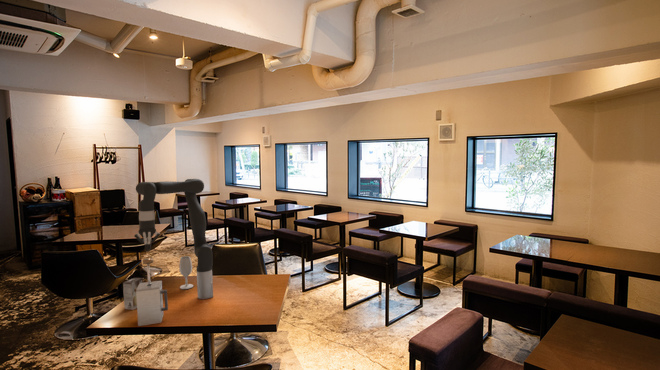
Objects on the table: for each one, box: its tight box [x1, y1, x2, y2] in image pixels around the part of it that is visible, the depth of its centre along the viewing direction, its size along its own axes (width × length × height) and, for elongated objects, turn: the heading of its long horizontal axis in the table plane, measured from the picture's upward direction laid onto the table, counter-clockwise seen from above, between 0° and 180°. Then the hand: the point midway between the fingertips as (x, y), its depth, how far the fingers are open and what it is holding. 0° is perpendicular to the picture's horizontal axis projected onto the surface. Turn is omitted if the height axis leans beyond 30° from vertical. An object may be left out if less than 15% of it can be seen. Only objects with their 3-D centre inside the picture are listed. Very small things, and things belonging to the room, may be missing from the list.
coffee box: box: [122, 277, 144, 310], centre depth 211 cm, size 9×6×16 cm
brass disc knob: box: [142, 257, 154, 286], centre depth 191 cm, size 8×8×20 cm
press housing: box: [136, 280, 169, 327], centre depth 193 cm, size 14×11×20 cm
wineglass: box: [178, 255, 194, 290], centre depth 241 cm, size 9×9×21 cm
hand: (148, 250), depth 192 cm, fingers closed
